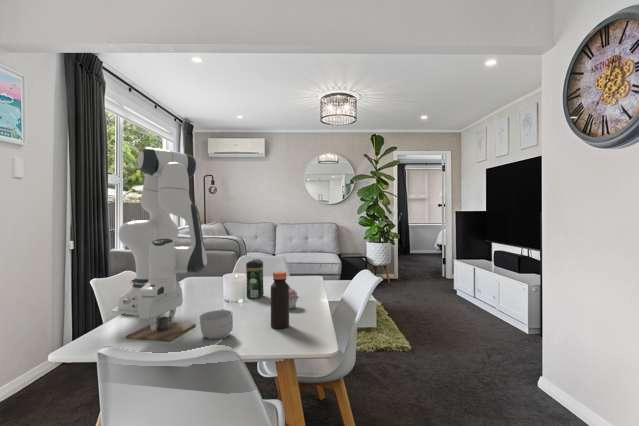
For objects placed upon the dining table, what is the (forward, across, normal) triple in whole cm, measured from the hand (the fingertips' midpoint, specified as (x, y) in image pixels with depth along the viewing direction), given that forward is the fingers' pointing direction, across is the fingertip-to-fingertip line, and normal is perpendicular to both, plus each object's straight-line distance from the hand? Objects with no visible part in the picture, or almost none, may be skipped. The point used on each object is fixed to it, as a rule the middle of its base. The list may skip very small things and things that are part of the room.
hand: (162, 325), depth 127 cm
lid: (+2, 0, 0) cm, 2 cm away
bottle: (+3, -15, +38) cm, 41 cm away
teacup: (+3, -2, +20) cm, 20 cm away
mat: (+3, 0, 0) cm, 3 cm away
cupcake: (+3, -41, +34) cm, 53 cm away
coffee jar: (+3, -58, +12) cm, 59 cm away
